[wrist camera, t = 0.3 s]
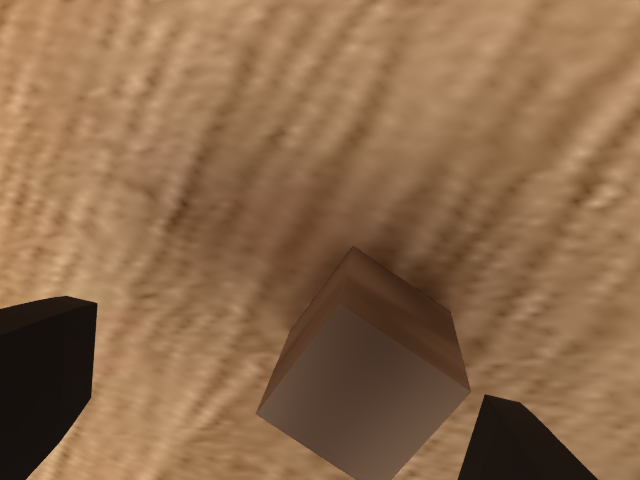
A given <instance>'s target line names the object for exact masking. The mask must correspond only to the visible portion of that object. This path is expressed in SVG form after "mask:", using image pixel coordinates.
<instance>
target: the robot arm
mask: <svg viewBox="0 0 640 480" xmlns="http://www.w3.org/2000/svg"><path fill="white" fill-rule="evenodd" d="M96 317H97V303H94V302H90V301H86V300H82V299H77V298H73V297H69V296H62V297H54V298H48V299H43V300H38V301H33V302H28V303H24V304H20V305H15V306H11V307H7V308H3V309H0V480H26V479H27V478H28V477H29V475H30V474H31V473H32V472H33V471H34V470H35V469H36V468H37V467H38V466H39V465H40V463H41V462H42V461H43V460H44V459H45V458H46V457H47V456H48V455H49V454H50V453H51V451H52V450H53V449H54V448H55V447H56V446H57V445H58V444H59V442H60V441H61V440H62V438H63V437H64V436H65V434H66V433H67V432H68V430H69V429H70V427H71V426H72V425H73V423H74V422H75V421H76V419H77V418H78V416H79V415H80V413H81V412H82V410H83V409H84V407H85V406H86V404H87V403H88V402H89V400H90V399H91V391H92V376H93V362H94V347H95V332H96ZM458 480H598V479H597V478H596V477H595V476H594V475H593V474H592V473H591V472H590V471H589V470H588V469H587V468H586V467H585V466H584V465H583V464H582V463H581V462H580V461H579V460H578V459H577V458H576V457H575V456H574V455H573V454H572V453H571V452H570V451H569V450H568V449H567V448H566V447H565V446H564V445H563V444H562V443H561V442H560V441H559V440H558V439H557V438H556V437H555V436H554V435H553V434H552V433H551V431H550V430H549V429H548V428H547V427H546V426H545V425H544V424H543V423H542V422H541V421H540V420H539V419H538V418H537V417H535V416H534V415H533V414H532V413H531V412H530V411H529V410H528V409H527V408H526V407H525V406H523V405H522V404H521V403H520V402H515V401H511V400H507V399H503V398H498V397H494V396H490V395H486V394H485V396H484V399H483V402H482V405H481V408H480V411H479V415H478V418H477V421H476V424H475V427H474V430H473V433H472V436H471V440H470V443H469V446H468V449H467V452H466V455H465V458H464V462H463V465H462V468H461V471H460V474H459V477H458Z"/></svg>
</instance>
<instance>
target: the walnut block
mask: <svg viewBox="0 0 640 480" xmlns="http://www.w3.org/2000/svg"><path fill="white" fill-rule="evenodd" d="M470 393H471V390H470V386H469V382H468V378H467V374H466V370H465V366H464V363H463V359H462V355H461V351H460V347H459V343H458V339H457V335H456V332H455V328H454V324H453V320H452V316H451V312H449V311H448V310H446V309H445V308H444V307H442V306H441V305H439V304H438V303H436V302H435V301H433V300H432V299H430V298H429V297H427V296H426V295H425V294H423V293H422V292H420V291H419V290H417V289H416V288H414V287H413V286H411V285H410V284H408V283H407V282H405V281H404V280H403V279H401V278H400V277H398V276H397V275H395V274H394V273H392V272H391V271H389V270H388V269H386V268H385V267H384V266H382V265H381V264H379V263H378V262H376V261H375V260H373V259H372V258H370V257H369V256H367V255H366V254H364V253H363V252H362V251H360V250H359V249H357V248H356V247H354V246H353V247H352V248H351V249H350V251H349V252H348V254H347V255H346V256H345V258H344V259H343V260H342V262H341V263H340V264H339V266H338V267H337V269H336V270H335V271H334V273H333V274H332V275H331V277H330V278H329V279H328V281H327V282H326V284H325V285H324V286H323V288H322V289H321V290H320V292H319V293H318V295H317V296H316V297H315V299H314V300H313V301H312V303H311V304H310V305H309V307H308V308H307V310H306V311H305V312H304V314H303V315H302V316H301V318H300V319H299V320H298V322H297V323H296V325H295V326H294V327H293V329H292V330H291V331H290V333H289V335H288V337H287V340H286V342H285V345H284V347H283V350H282V352H281V354H280V357H279V359H278V362H277V364H276V366H275V369H274V371H273V374H272V376H271V379H270V381H269V383H268V386H267V388H266V391H265V393H264V396H263V398H262V400H261V403H260V405H259V408H258V410H257V412H256V414H257V415H258V416H260V417H261V418H263V419H264V420H266V421H267V422H269V423H270V424H272V425H273V426H275V427H276V428H278V429H279V430H281V431H282V432H284V433H285V434H287V435H289V436H290V437H292V438H293V439H295V440H296V441H298V442H299V443H301V444H302V445H304V446H305V447H307V448H308V449H310V450H311V451H313V452H314V453H316V454H317V455H319V456H321V457H322V458H324V459H325V460H327V461H328V462H330V463H331V464H333V465H334V466H336V467H337V468H339V469H340V470H342V471H343V472H345V473H346V474H348V475H350V476H351V477H353V478H354V479H356V480H391V479H392V478H393V477H394V476H395V475H396V474H397V473H398V472H399V471H400V469H401V468H402V467H403V466H404V465H405V464H406V463H407V462H408V461H409V460H410V458H411V457H412V456H413V455H414V454H415V453H416V452H417V451H418V450H419V449H420V447H421V446H422V445H423V444H424V443H425V442H426V441H427V440H428V439H429V438H430V436H431V435H432V434H433V433H434V432H435V431H436V430H437V429H438V428H439V427H440V425H441V424H442V423H443V422H444V421H445V420H446V419H447V418H448V417H449V416H450V414H451V413H452V412H453V411H454V410H455V409H456V408H457V407H458V406H459V405H460V403H461V402H462V401H463V400H464V399H465V398H466V397H467V396H468V395H469V394H470Z"/></svg>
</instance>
